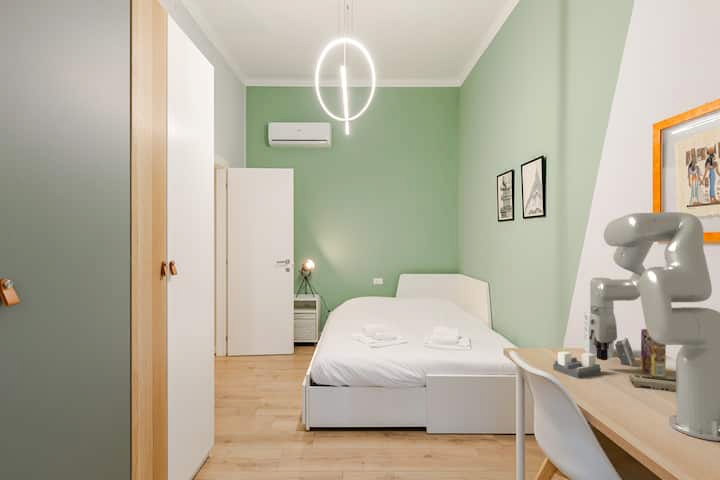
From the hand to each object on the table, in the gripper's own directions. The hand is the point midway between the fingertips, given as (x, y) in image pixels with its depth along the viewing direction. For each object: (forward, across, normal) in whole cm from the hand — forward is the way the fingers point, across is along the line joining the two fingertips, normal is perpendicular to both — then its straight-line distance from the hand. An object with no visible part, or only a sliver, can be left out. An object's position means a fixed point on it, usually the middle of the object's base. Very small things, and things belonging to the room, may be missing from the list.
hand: (602, 359), depth 153 cm
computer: (+5, +1, -20) cm, 20 cm away
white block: (+2, -7, 0) cm, 8 cm away
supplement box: (+4, +18, +14) cm, 23 cm away
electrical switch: (+4, +16, +2) cm, 17 cm away
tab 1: (+2, -14, +5) cm, 15 cm away
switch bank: (+4, -11, +2) cm, 12 cm away
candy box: (+4, +13, -10) cm, 17 cm away
